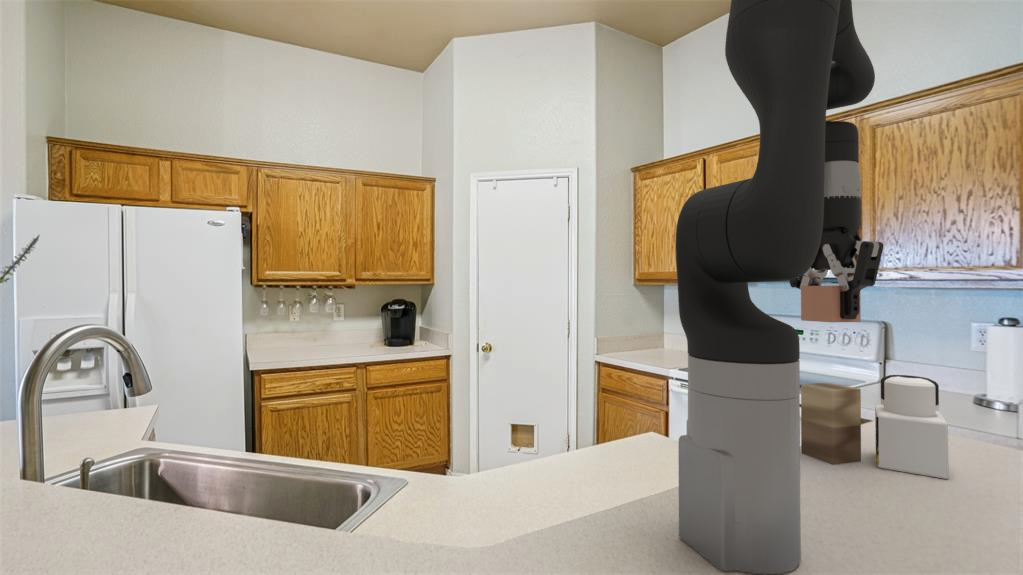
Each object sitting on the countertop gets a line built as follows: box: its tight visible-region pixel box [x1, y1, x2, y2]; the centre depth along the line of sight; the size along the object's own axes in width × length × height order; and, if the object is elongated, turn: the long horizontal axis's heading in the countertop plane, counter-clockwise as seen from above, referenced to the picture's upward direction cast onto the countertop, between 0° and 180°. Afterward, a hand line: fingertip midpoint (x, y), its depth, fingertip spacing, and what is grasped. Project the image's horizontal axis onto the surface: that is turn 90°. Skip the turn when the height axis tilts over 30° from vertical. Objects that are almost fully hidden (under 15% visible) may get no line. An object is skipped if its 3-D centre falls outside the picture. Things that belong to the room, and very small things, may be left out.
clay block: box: [800, 285, 862, 323], centre depth 69 cm, size 5×5×5 cm
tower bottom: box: [800, 418, 862, 466], centre depth 69 cm, size 5×5×5 cm
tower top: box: [800, 382, 862, 428], centre depth 69 cm, size 5×5×5 cm
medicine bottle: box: [874, 374, 950, 480], centre depth 65 cm, size 7×7×12 cm
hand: (829, 317), depth 69 cm, fingers closed on clay block, 5 cm apart
